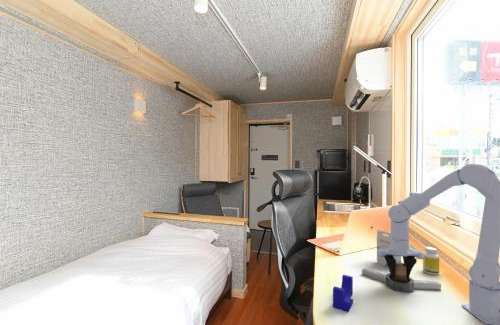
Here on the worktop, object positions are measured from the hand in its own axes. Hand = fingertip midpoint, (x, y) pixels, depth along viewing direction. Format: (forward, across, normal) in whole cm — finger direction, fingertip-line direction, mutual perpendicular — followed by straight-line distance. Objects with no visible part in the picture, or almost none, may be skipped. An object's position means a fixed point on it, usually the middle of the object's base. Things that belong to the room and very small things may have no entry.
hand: (399, 276), depth 91 cm
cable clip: (+4, +22, +13) cm, 26 cm away
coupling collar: (+4, -2, -3) cm, 5 cm away
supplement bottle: (+4, -19, -15) cm, 25 cm away
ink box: (+4, -5, -21) cm, 22 cm away
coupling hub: (+2, 0, 0) cm, 2 cm away
